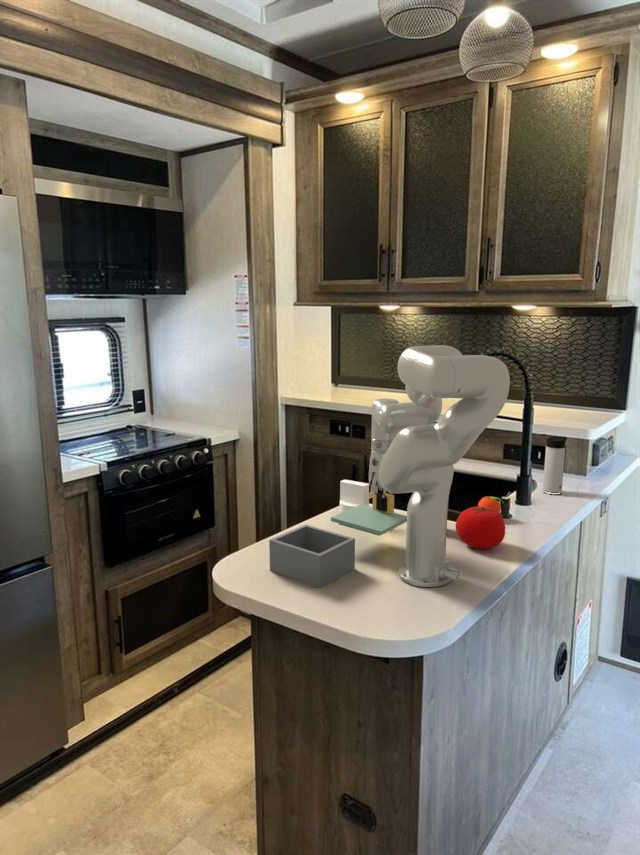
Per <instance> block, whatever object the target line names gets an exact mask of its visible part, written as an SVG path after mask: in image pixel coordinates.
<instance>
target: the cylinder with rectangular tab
mask: <svg viewBox="0 0 640 855" xmlns="http://www.w3.org/2000/svg"><path fill="white" fill-rule="evenodd" d="M339 486H340V487H339V514H340V513H342V512H345V511H347V510H349V509H351V508H354V507H356V506H358V505H365V506H369V507H370V485H369V482H367V483H366V482H361V481H355V480H350V479H342V480H340V483H339Z"/></svg>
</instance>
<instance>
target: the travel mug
mask: <svg viewBox="0 0 640 855" xmlns="http://www.w3.org/2000/svg"><path fill="white" fill-rule="evenodd" d="M566 440H568V438H567V437H566V436H551V437H548V438H546V444H545V455H544V468H543V469H544V471H543V481H542V483H543V484H542V491H543V490H544V491H546V492H551V493H559V492H562V493H563V480H564V467H565V455H566V454H565V452H566Z"/></svg>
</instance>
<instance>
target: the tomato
mask: <svg viewBox="0 0 640 855" xmlns="http://www.w3.org/2000/svg"><path fill="white" fill-rule="evenodd" d="M455 532H456V535H457V536H458V538H459V539H460V540H461V541H462V543H464V544H465V545H467V546H469V547H471V548H474V549H479V550H488V549H494V548H495V547H498V546H499V545H500V544H501V543H502V542H503V540H504V538H505V536H506V523H505V521H504V517H503V516H502V515H501V514H500V513H498V512H497V511H496V510H493V509H490V508H485V507H483V506H482V507H478V506H471V507H469V508H466V509H465V510H463V511H462V512H460V514H459V515H458V517H457V518H456V523H455Z"/></svg>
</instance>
